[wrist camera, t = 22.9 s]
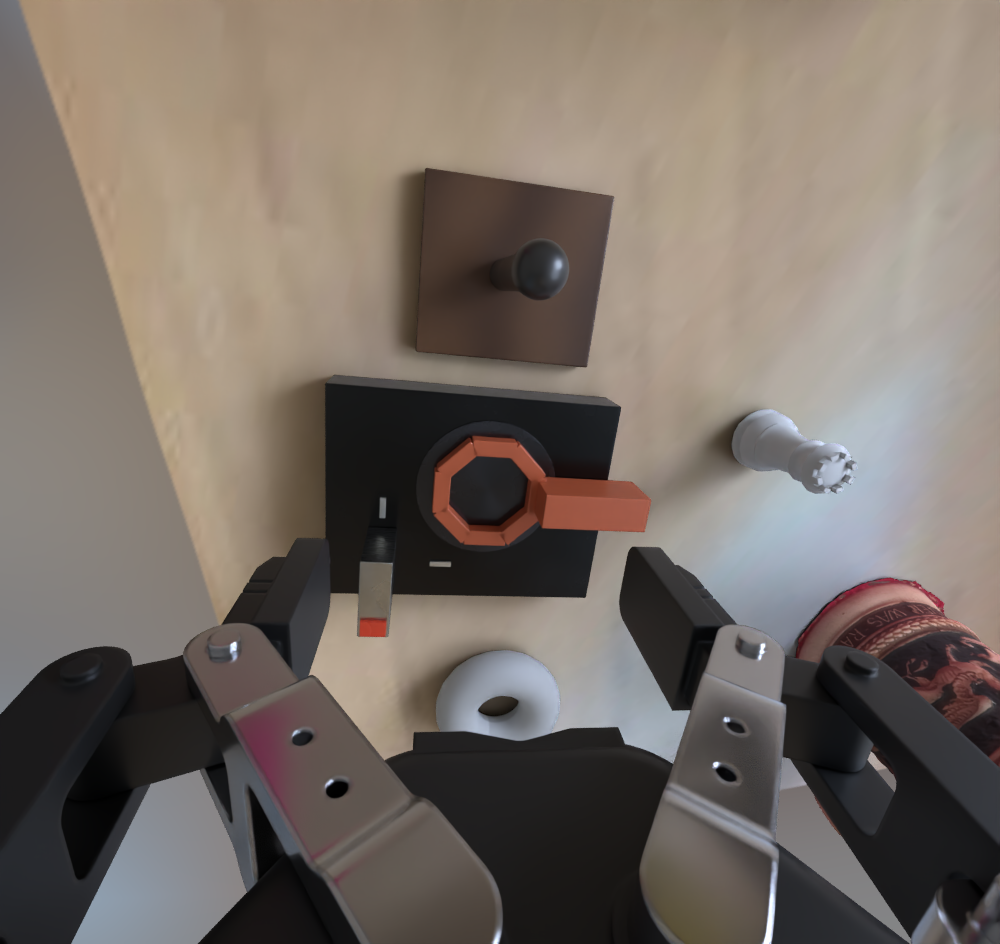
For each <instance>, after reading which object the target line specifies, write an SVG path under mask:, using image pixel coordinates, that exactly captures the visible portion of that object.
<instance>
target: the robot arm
mask: <svg viewBox="0 0 1000 944" xmlns="http://www.w3.org/2000/svg"><path fill="white" fill-rule="evenodd" d="M330 594H331V591H330V554H329V542H328V539H320V538H297V539H296V540H295V542H294V543H293V545H292V547H291V549H290V551H289V553H288V554H287V556H286V557H272V558H271V559H269V560H268V561H266V562H265V563H263V564H262V565H260V566H259V567H257V569H256V570H255V572H254V574H253V575H252V577H251V578H250V580H249V583H247V585H246V586H245V588H244V589H243V593H241V594H240V596H239V597H238V599H237V601H236V602H235V604H234V605H233V607H232V609H231V610H230V612H229V613H228V615H227V617H226V618H225V620H224V621H223V623H222V625H220V626H216V627H213V628H211V629H208V630H206V631H204V632H202V633H200V634H199V635H197V636H196V637H194V638H193V639H192V640H191V641H190V642H189V643H188V644H187V645H186V647H185V649H184V652H183V655H181V656H178V657H175V658H171V659H167V660H162V661H157V662H152V663H147V664H142V665H137V666H133V665H132V660H131V656H130V654H129V653H128V652H127V651H125V650H124V649H121V648H118V647H107V646H104V647H94V648H89V649H84V650H81V651H77V652H74V653H71V654H69V655H67V656H64V657H62V658H60V659H58V660H56V661H54V662H53V663H51V664H49V665H48V666H47V667H45V668H44V669H43V670H41V671H40V672H39V673H38V674H37V675H36V676H35V678H34V679H33V680H32V681H31V682H30V683H29V684H28V685H27V686H26V687H25V688H24V689H23V691H22V692H21V693H20V694H19V695H18V696H17V697H16V698H15V699H14V700H13V701H12V702H11V704H10V705H9V706H8V707H7V708H6V709H5V710H4V711H3V712H2V713H1V714H0V944H71V943H72V940H73V939H74V937H75V935H76V933H77V931H78V929H79V927H80V925H81V923H82V921H83V919H84V917H85V915H86V913H87V911H88V909H89V907H90V905H91V902H92V900H93V899H94V896H95V895H96V893H97V891H98V889H99V886H100V885H101V883H102V881H103V878H104V877H105V875H106V873H107V870H108V869H109V867H110V864H111V863H112V860H113V858H114V856H115V854H116V853H117V851H118V849H119V846H120V844H121V842H122V840H123V838H124V836H125V834H126V832H127V830H128V828H129V826H130V824H131V822H132V820H133V818H134V816H135V814H136V812H137V810H138V808H139V806H140V804H141V802H142V800H143V798H144V796H145V794H146V792H147V790H148V788H149V786H150V784H151V783H155V782H158V781H162V780H165V779H169V778H172V777H175V776H179V775H183V774H186V773H189V772H193V771H196V770H200V772H201V775H202V777H203V779H204V781H205V784H206V786H207V788H208V790H209V793H210V795H211V797H212V799H213V801H214V803H215V806H216V808H217V810H218V813H219V815H220V817H221V819H222V822H223V824H224V826H225V828H226V830H227V833H228V835H229V837H230V839H231V842H232V844H233V847H234V850H235V853H236V857H237V861H238V865H239V869H240V873H241V876H242V879H243V882H244V885H245V888H246V891H247V893H246V894H245V895H244V896H243V897H242V898H241V899H240V901H238V902H237V904H236V905H235V906H234V907H233V908H232V909H231V910H230V911H229V912H228V913H227V914H226V915H225V916H224V917H223V918H222V919H221V920H220V921H219V922H218V923H217V924H216V925H215V926H214V927H213V928H212V929H211V931H210V932H209V933H208V934H207V935H206V936H205V937H204V938H203V939H202V940H201V941H200V942H199V943H198V944H909V943H908V942H907V941H905V940H904V939H903V938H901V937H900V936H899V935H897V934H896V933H895V932H894V931H892V930H891V929H890V928H888V927H887V926H886V925H884V924H883V923H882V922H880V921H879V920H878V919H876V918H875V917H874V916H873V915H871V914H870V913H868V912H867V911H866V910H865V909H863V908H862V907H861V906H859V905H858V904H857V903H855V902H854V901H853V900H851V899H850V898H849V897H848V896H846V895H845V894H844V893H842V892H841V891H840V890H838V889H837V888H836V887H834V886H833V885H832V884H831V883H829V882H828V881H827V880H825V879H824V878H822V877H821V876H820V875H819V874H817V873H816V872H815V871H814V870H812V869H811V868H810V867H808V866H807V865H806V864H804V863H803V862H802V861H800V860H799V859H798V858H796V857H795V856H794V855H793V854H791V853H790V852H788V851H787V850H786V849H785V848H783V847H782V846H780V845H779V844H778V843H777V842H776V826H777V814H778V802H779V791H780V779H781V767H782V757H786V758H790V759H791V761H792V762H793V764H794V766H795V767H796V769H797V770H798V772H799V773H800V775H801V776H802V778H803V779H804V781H805V782H806V783H807V785H808V786H809V788H810V789H811V791H812V792H813V794H814V795H815V797H816V798H817V800H818V801H819V803H820V804H821V806H822V807H823V809H824V810H825V812H826V813H827V815H828V816H829V818H830V819H831V821H832V822H833V824H834V825H835V827H836V828H837V830H838V831H839V833H840V834H841V836H842V837H843V839H844V840H845V841H846V843H847V844H848V846H849V847H850V849H851V850H852V852H853V853H854V855H855V856H856V858H857V859H858V861H859V862H860V864H861V865H862V867H863V868H864V870H865V871H866V873H867V874H868V876H869V877H870V879H871V880H872V881H873V883H874V885H875V886H876V888H877V889H878V891H879V892H880V893H881V895H882V896H883V898H884V900H885V901H886V903H887V904H888V906H889V907H890V908H891V910H892V912H893V913H894V914H895V916H896V918H897V919H898V921H899V922H900V924H901V925H902V926H903V928H904V929H905V931H906V932H907V934H908V935H909V937H910V938H911V944H1000V767H999V766H997V765H996V764H995V763H994V762H993V761H992V760H991V759H990V758H989V757H988V756H987V755H985V754H984V753H983V752H982V751H981V750H980V749H979V748H978V747H977V746H976V745H975V744H973V743H972V742H971V741H970V740H969V739H968V738H967V737H966V736H965V735H964V734H963V733H961V732H960V731H959V730H958V729H957V728H956V727H955V726H954V725H953V724H952V723H950V722H949V721H948V720H947V719H946V718H945V717H944V716H943V715H942V714H941V713H940V712H938V711H937V710H936V709H935V708H934V707H933V706H932V705H931V704H930V703H929V702H928V701H926V700H925V699H924V698H923V697H922V696H921V695H920V694H919V693H918V692H917V691H916V690H914V689H913V688H912V687H911V686H910V685H909V684H908V683H907V682H906V681H905V680H903V679H902V678H901V677H900V676H899V675H898V674H897V673H896V672H895V671H894V670H893V669H891V668H890V667H889V666H888V665H887V664H885V663H884V662H882V661H881V660H879V659H878V658H876V657H874V656H872V655H870V654H868V653H866V652H864V651H861V650H858V649H855V648H851V647H847V646H839V645H836V646H829V647H827V648H826V649H825V650H824V652H823V654H822V657H821V660H820V663H816V662H812V661H807V660H802V659H797V658H793V657H788V656H785V652H784V650H783V648H782V646H781V645H780V644H779V643H778V642H777V641H776V640H774V639H773V638H772V637H770V636H769V635H767V634H765V633H763V632H761V631H759V630H757V629H754V628H751V627H748V626H743V625H737V624H736V623H735V621H734V620H733V619H732V618H731V617H730V616H729V615H728V613H727V612H726V611H725V610H724V609H723V608H722V607H721V605H720V604H719V603H718V602H717V601H716V600H715V599H713V596H712V595H711V594H710V593H709V592H708V591H707V589H704V586H703V585H702V584H701V582H700V581H699V580H698V579H697V578H696V577H695V576H694V575H693V574H691V573H690V572H688V571H687V570H685V569H683V568H682V567H680V566H679V565H674V563H673V562H672V561H671V560H670V559H669V557H668V556H667V555H666V554H665V553H664V551H663V550H662V549H661V548H659V547H632V548H631V549H630V550H629V552H628V556H627V561H626V566H625V571H624V576H623V582H622V587H621V592H620V599H619V605H620V613H621V616H622V619H623V621H624V623H625V625H626V626H627V628H628V630H629V632H630V634H631V636H632V637H633V639H634V641H635V643H636V645H637V647H638V648H639V650H640V652H641V654H642V656H643V658H644V659H645V661H646V663H647V665H648V667H649V668H650V670H651V672H652V674H653V676H654V678H655V679H656V681H657V683H658V685H659V687H660V689H661V690H662V692H663V694H664V696H665V698H666V700H667V701H668V703H669V705H670V707H671V709H672V711H676V710H691V711H690V714H689V717H688V720H687V723H686V727H685V730H684V733H683V736H682V739H681V742H680V745H679V748H678V751H677V754H676V757H675V760H674V763H673V764H672V763H670V762H669V761H667V760H666V759H664V758H662V757H660V756H658V755H656V754H654V753H651V752H649V751H646V750H644V749H641V748H637V747H634V746H631V745H626V744H625V743H624V740H623V738H622V736H621V733H620V731H619V728H618V727H608V728H570V729H566V730H562V731H559V732H555V733H551V734H547V735H543V736H540V737H536V738H532V739H528V740H524V741H516V740H510V739H505V738H500V737H495V736H489V735H484V734H479V733H473V732H468V731H450V732H414V739H413V750H411V751H407V752H404V753H401V754H398V755H396V756H393V757H391V758H388V759H387V760H385V761H384V759H383V758H382V757H381V756H380V754H379V753H378V752H377V751H376V750H375V748H374V747H373V746H372V745H371V743H370V742H369V741H368V740H367V738H366V737H365V736H364V735H363V733H362V732H361V731H360V730H359V729H358V727H357V726H356V725H355V724H354V722H353V721H352V720H351V719H350V717H349V716H348V715H347V714H346V712H345V711H344V710H343V709H342V708H341V706H340V705H339V704H338V703H337V701H336V700H335V699H334V698H333V696H332V695H331V694H330V693H329V692H328V690H327V689H326V688H325V687H324V685H323V684H322V683H321V682H320V681H319V679H318V678H316V677H315V676H313V675H310V676H308V675H309V672H310V669H311V666H312V663H313V660H314V657H315V654H316V651H317V648H318V645H319V642H320V639H321V636H322V633H323V629H324V626H325V623H326V620H327V617H328V613H329V607H330ZM873 745H875V746H876V747H877V748H878V750H879V751H880V752H881V753H882V754H883V755H884V756H885V758H886V759H887V760H888V761H889V763H890V764H891V766H892V768H893V770H894V773H895V777H896V790H895V793H894V791H893V790H892V789H891V788H890V787H889V786H888V784H887V783H886V782H885V781H884V779H883V778H882V777H881V776H880V775H879V773H878V772H877V771H876V770H875V769H874V767H873V766H872V765H871V764H870V763H869V761H868V760H867V759H868V757H869V754H870V752H871V750H872V748H873Z"/></svg>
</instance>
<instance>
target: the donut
mask: <svg viewBox="0 0 1000 944" xmlns="http://www.w3.org/2000/svg"><path fill="white" fill-rule="evenodd" d="M497 696H509V697H513V698H515V699H517V700H518V701H519V703H518V705H517V706H516V707H515V708H514V709H513V710H512V711H510V712H509V713H507V714H504V715H501V716H493V717H492V716H486V715H484V714H482V713H480V712H479V711H478V709H479V707H480V706H481V705H482V704H483V703H484V702H486V701H487V700H489V699H491V698H494V697H497ZM559 709H560V693H559V690H558V687H557V684H556V681H555V678H554V677H553V675H552V674H551V673H550V672H549V670H548V669H547V668H546V667H545V666H544V665H543V664H542V663H541V662H539V661H538V660H536V659H534V658H532V657H530V656H529V655H527V654H525V653H520V652H515V651H510V650H499V651H488V652H485V653H482V654H479V655H476V656H474V657H471V658H469V659H468V660H466V661H465V662H463V663H462V664H460V665H459V666H457V667H456V668H455V669H454V670H453V672H452V673H451V674H450V675H449V676H448V678H447V679H446V680H445V681H444V683H443V684H442V687H441V690H440V692H439V695H438V698H437V701H436V721H437V725H438V727H439V729H440V731H441V732H450V731H468V732H473V733H479V734H484V735H489V736H495V737H500V738H505V739H510V740H516V741H524V740H528V739H532V738H536V737H540V736H543V735H547V734H550V733H551V731H552V729H553V727H554V725H555V723H556V721H557V719H558V716H559Z"/></svg>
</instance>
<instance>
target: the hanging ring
mask: <svg viewBox="0 0 1000 944" xmlns="http://www.w3.org/2000/svg"><path fill="white" fill-rule="evenodd" d="M476 456H483V457H499V458H511V459H512V460H513V462H514V463H515V464H516V465H517V466H518V467H519V469H520V470H521V471H522V472H523V473H524V474H525V475H526V477H527V478H528V483H527V491H526V498H525V506H524V507H523V508H522V509H520V510H519V511H518V512H517V513H515V514H514V515H513V516H512V517H510V518H509V519H508V520H507V521H505V522H504V523H503V524H502V525H500V526H489V525H468V524H467V523H466V521H465V520H464V519H463V518H462V517H461V516H460V515H459V514H458V513H457V512H456V511H455V510H454V509H453V508H452V507H451V506H450V505H449V496H450V484H451V477H452V476H453V475H454V474H456V473H457V472H458V471H459V470H460V469H462V468H463V467H464V466H465V465H467V464H468V463H469V462H470V461H471V460H473V459H474V458H475V457H476ZM545 476H546V474H545V473H544V471H543V470H542V469H541V467H540V466H539V465H538V464H537V463H536V461H535V460H534V459H533V458H532V457H531V455H530V454H529V453H528V452H527V451H526V449H525V448H524V447H523V446H522V445H521V444H520V442H519V441H516V440H515V439H510V438H495V437H480V436H472V440H471V438H468V439H466V440H465V441H464V442H463V443H462V444H460V445H459V446H458V447H457V448H455V449H454V450H453V451H452V452H451V453H449V454H448V455H447V456H446V457H445V458H443V459H442V460H441V461H440V462H439V463H437V467H435V469H434V483H433V497H432V512H433V515H434V516H435V517H436V518H437V520H438V521H439V522H440V523H441V524H442V525H443V526H444V527H445V528H446V529H447V530H448V531H449V532H450V533H451V534H452V535H453V536H454V537H455V538H456V539H457V540H458V541H459V542H460V543H462V542H463V543H464V545H493V546H505V543H506V544H507V545H508V544H510V543H511V542H512V541H513V540H515V539H516V538H517V537H518V536H520V535H521V534H522V533H524V532H525V531H526V530H527V529H529V528H530V527H531V526H532V525H534V524H535V523H536V522H537V521H539V523H540V525H541V527H542V528H548V529H574V530H600V531H625V532H645V528H646V523H647V518H648V514H649V509H650V505H651V499H650V498H649V497H648V496H647V495H645V494H644V493H643V492H642V491H641V490H640V489H639V488H638V487H637V486H636V485H635V484H634V483H633V482H628V481H610V480H592V479H574V478H556V477H545Z"/></svg>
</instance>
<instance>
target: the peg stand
mask: <svg viewBox="0 0 1000 944" xmlns="http://www.w3.org/2000/svg"><path fill="white" fill-rule="evenodd" d="M613 202H614V196H609V195H602V194H596V193H589V192H582V191H576V190H569V189H563V188H556V187H549V186H543V185H536V184H530V183H523V182H516V181H510V180H503V179H496V178H490V177H483V176H477V175H470V174H463V173H457V172H450V171H443V170H437V169H430V168H426V169H425V188H424V206H423V225H422V243H421V262H420V280H419V299H418V318H417V336H416V351H417V352H427V353H437V354H448V355H459V356H469V357H480V358H491V359H502V360H512V361H523V362H534V363H544V364H555V365H566V366H576V367H587V363H588V357H589V351H590V345H591V338H592V332H593V326H594V320H595V314H596V307H597V301H598V295H599V289H600V283H601V276H602V270H603V264H604V258H605V252H606V245H607V239H608V233H609V227H610V220H611V214H612V208H613Z"/></svg>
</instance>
